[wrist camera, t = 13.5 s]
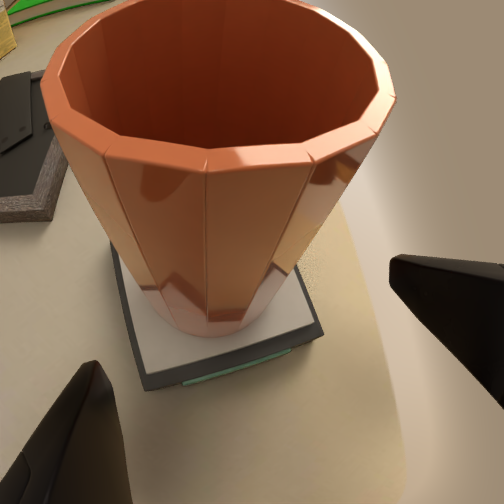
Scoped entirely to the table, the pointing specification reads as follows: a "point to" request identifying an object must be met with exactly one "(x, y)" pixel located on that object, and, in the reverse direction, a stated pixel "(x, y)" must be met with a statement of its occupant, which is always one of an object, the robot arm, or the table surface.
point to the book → (42, 8)
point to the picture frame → (27, 152)
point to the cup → (214, 142)
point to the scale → (212, 349)
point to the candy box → (5, 32)
